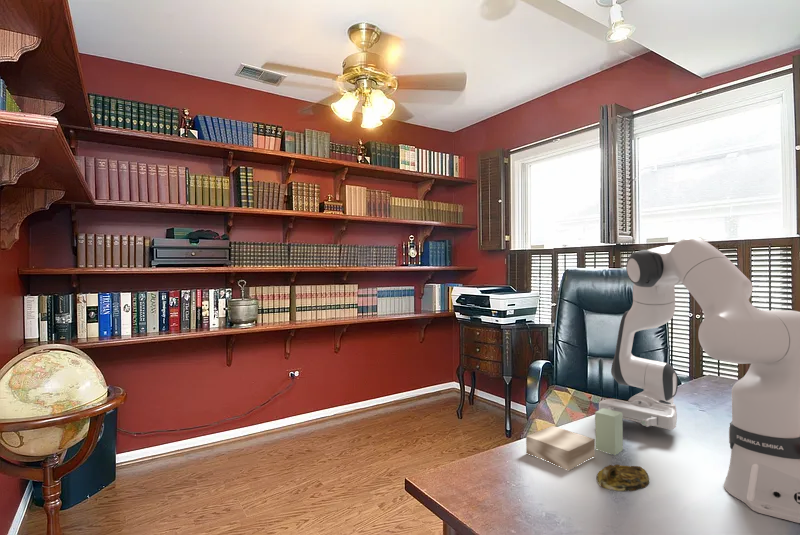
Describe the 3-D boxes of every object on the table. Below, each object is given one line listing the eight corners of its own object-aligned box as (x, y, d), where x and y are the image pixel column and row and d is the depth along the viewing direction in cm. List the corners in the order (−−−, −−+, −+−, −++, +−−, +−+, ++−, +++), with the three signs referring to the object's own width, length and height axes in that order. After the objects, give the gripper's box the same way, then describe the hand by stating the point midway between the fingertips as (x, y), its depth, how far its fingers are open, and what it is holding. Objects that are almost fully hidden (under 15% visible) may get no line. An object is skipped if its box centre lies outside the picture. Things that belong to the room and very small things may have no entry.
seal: (621, 469, 105) (585, 485, 96) (619, 449, 105) (582, 463, 97) (661, 480, 97) (625, 498, 89) (658, 458, 97) (622, 475, 89)
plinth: (594, 458, 108) (594, 439, 108) (568, 472, 101) (568, 451, 101) (552, 443, 118) (552, 425, 118) (526, 455, 111) (526, 436, 111)
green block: (622, 450, 113) (622, 412, 113) (615, 455, 109) (614, 416, 109) (603, 444, 116) (603, 408, 116) (595, 449, 113) (595, 412, 113)
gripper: (608, 391, 138) (589, 400, 128) (681, 405, 122) (666, 416, 113) (609, 410, 137) (590, 420, 128) (682, 427, 122) (666, 440, 113)
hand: (626, 419), depth 121 cm, fingers open, 8 cm apart
